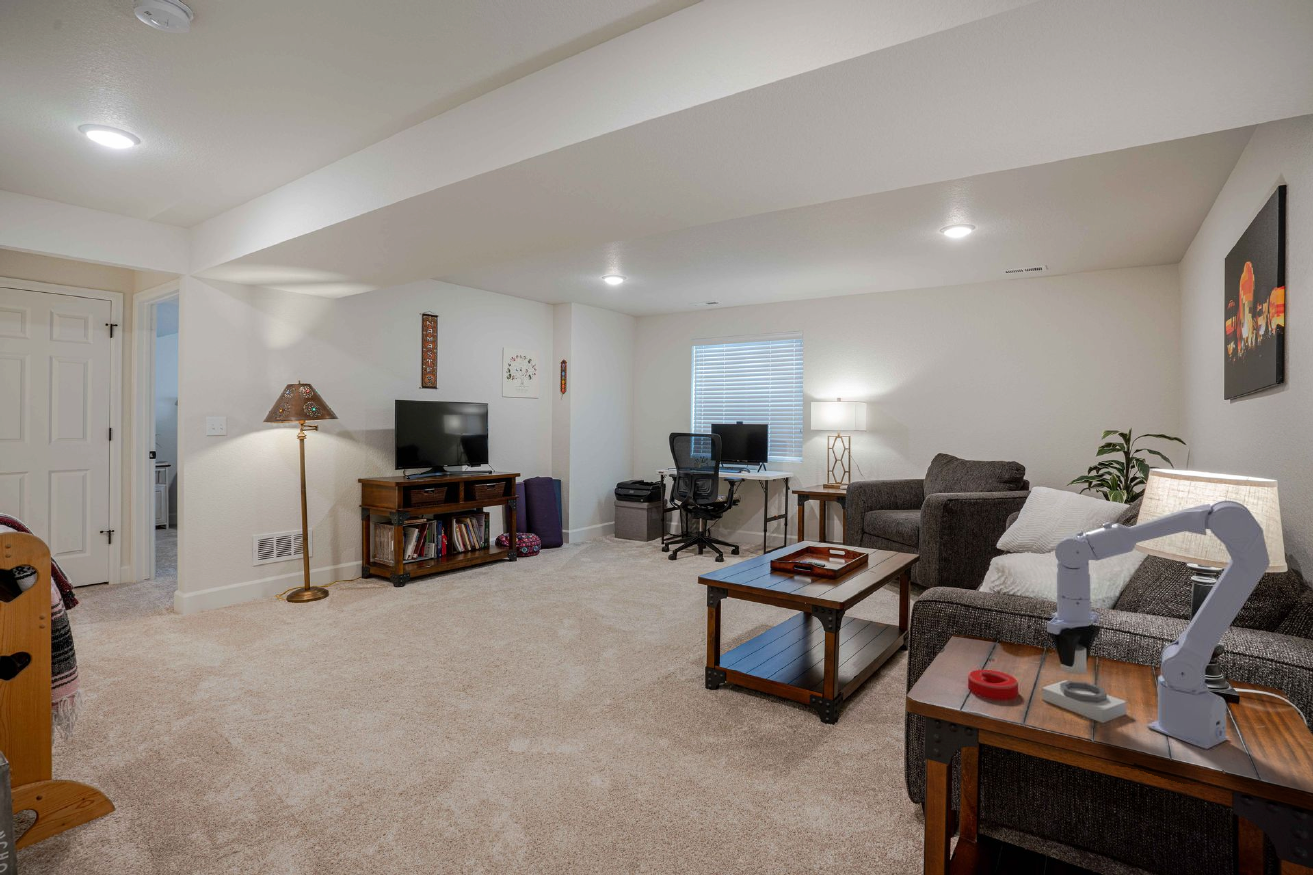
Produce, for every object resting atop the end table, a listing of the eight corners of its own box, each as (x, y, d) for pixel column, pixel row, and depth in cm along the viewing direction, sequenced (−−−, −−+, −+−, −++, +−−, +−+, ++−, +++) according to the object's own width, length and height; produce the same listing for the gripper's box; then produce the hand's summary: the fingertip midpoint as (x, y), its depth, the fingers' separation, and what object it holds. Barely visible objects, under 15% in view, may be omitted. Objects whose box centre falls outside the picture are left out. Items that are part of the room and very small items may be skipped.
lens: (1091, 670, 130) (1090, 646, 130) (1078, 675, 128) (1078, 650, 128) (1068, 663, 134) (1068, 640, 134) (1056, 668, 132) (1055, 644, 132)
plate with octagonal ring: (1126, 713, 128) (1126, 695, 128) (1102, 722, 125) (1102, 704, 125) (1065, 691, 139) (1065, 674, 139) (1041, 699, 136) (1041, 681, 136)
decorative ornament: (1027, 700, 136) (1027, 685, 136) (983, 702, 135) (983, 687, 135) (1001, 681, 146) (1001, 668, 145) (959, 683, 145) (959, 669, 145)
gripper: (1074, 586, 138) (1075, 649, 138) (1031, 596, 131) (1032, 662, 132) (1110, 594, 131) (1110, 660, 132) (1067, 605, 125) (1067, 674, 125)
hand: (1074, 662), depth 131 cm, fingers closed on lens, 4 cm apart
